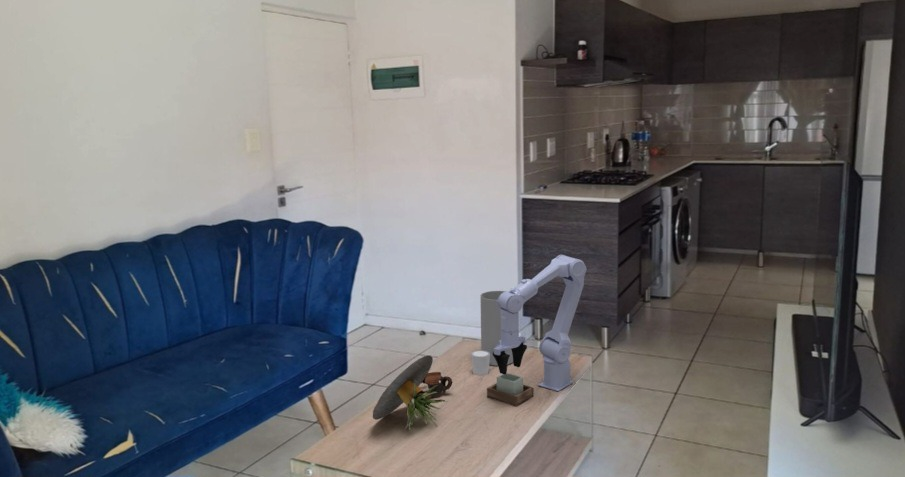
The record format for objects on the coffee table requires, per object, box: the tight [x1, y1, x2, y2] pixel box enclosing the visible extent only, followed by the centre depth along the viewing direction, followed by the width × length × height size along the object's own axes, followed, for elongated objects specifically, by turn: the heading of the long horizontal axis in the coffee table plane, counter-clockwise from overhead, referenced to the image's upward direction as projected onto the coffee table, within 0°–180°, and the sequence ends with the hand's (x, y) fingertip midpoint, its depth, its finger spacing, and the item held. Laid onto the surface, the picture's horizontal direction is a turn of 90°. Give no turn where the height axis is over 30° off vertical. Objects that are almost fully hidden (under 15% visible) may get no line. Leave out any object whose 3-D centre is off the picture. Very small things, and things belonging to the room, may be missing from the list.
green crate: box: [496, 372, 524, 396], centre depth 228 cm, size 5×7×6 cm
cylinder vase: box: [480, 290, 513, 367], centre depth 259 cm, size 12×12×25 cm
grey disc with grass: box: [372, 355, 448, 431], centre depth 209 cm, size 25×18×25 cm
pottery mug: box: [421, 371, 454, 399], centre depth 233 cm, size 12×10×8 cm
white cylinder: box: [470, 350, 490, 376], centre depth 249 cm, size 7×7×7 cm
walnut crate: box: [486, 382, 534, 407], centre depth 228 cm, size 10×12×3 cm
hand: (510, 369), depth 227 cm, fingers open, 7 cm apart
